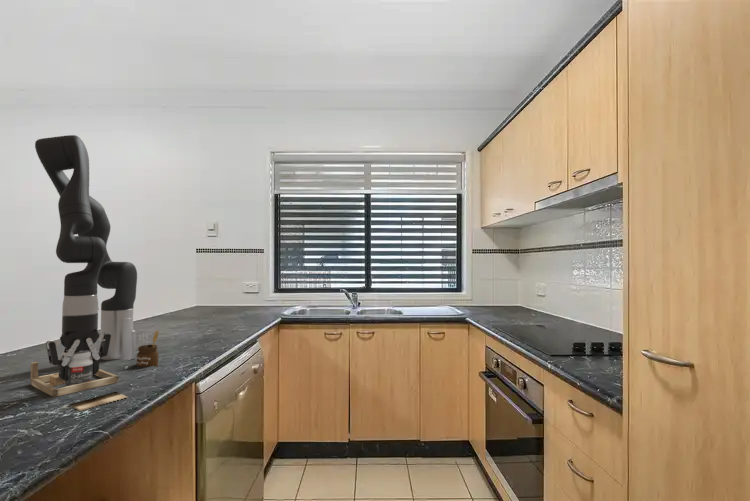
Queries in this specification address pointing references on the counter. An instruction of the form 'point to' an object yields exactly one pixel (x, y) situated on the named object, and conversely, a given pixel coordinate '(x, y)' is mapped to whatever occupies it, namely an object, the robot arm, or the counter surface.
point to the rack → (39, 383)
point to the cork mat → (97, 401)
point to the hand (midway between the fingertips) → (79, 376)
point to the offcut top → (56, 380)
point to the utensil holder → (148, 353)
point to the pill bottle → (79, 368)
